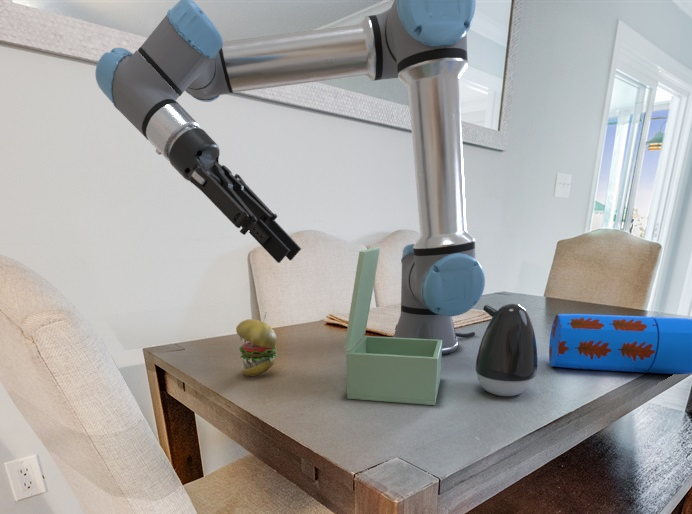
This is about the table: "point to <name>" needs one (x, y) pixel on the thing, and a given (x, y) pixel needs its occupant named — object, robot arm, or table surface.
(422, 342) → the keepsake box
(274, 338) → the hamburger
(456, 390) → the table surface
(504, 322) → the pump dispenser
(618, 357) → the thermos
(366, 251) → the lid
